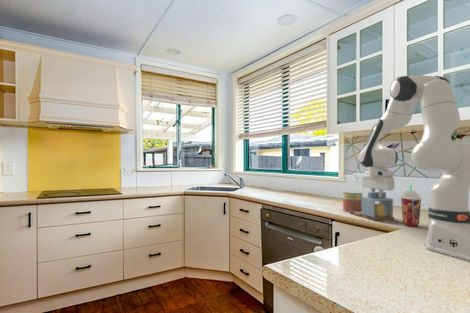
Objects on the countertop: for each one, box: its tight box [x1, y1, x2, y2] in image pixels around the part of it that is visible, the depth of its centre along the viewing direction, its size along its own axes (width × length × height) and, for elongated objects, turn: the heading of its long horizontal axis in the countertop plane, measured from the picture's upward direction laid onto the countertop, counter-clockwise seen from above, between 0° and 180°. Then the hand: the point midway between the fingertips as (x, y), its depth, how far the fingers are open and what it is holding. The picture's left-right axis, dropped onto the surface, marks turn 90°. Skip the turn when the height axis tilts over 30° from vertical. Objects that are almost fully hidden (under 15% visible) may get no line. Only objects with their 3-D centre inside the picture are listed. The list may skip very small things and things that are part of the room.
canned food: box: [342, 190, 363, 213], centre depth 169 cm, size 11×11×12 cm
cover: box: [362, 191, 394, 217], centre depth 148 cm, size 9×13×12 cm
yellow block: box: [375, 203, 384, 217], centre depth 147 cm, size 4×4×6 cm
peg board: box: [349, 211, 395, 222], centre depth 152 cm, size 19×13×4 cm
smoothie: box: [400, 184, 422, 228], centre depth 132 cm, size 8×8×20 cm
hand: (376, 197), depth 148 cm, fingers closed on cover, 2 cm apart
